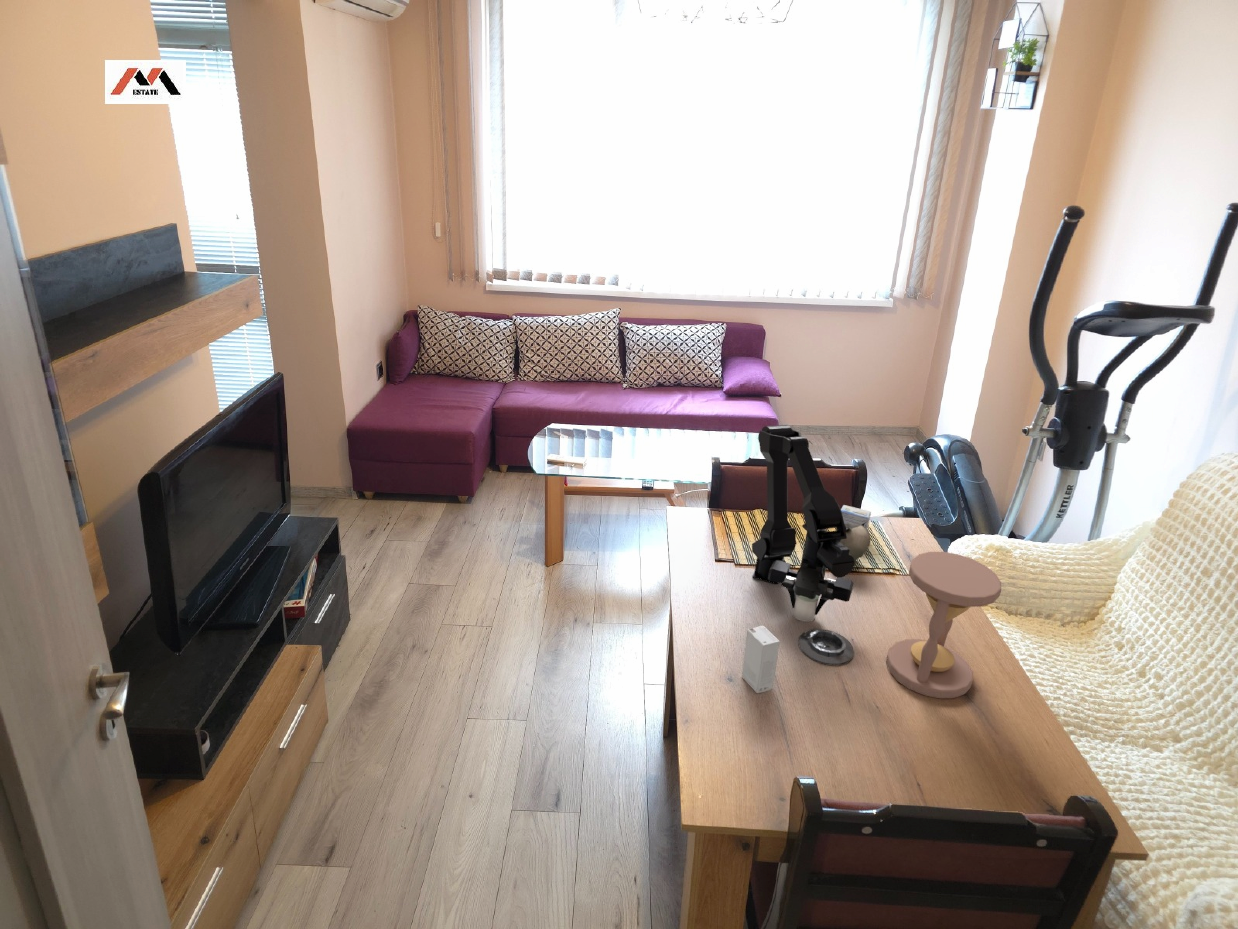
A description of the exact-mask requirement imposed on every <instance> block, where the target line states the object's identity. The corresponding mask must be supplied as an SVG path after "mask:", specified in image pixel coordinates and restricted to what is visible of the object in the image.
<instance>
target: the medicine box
mask: <svg viewBox="0 0 1238 929" xmlns="http://www.w3.org/2000/svg"><path fill="white" fill-rule="evenodd" d="M840 509H841V511H842V515H843V520H844V523H845V524H846V523H851V524H863V523H865V524H864V527H865V528H866V529H867V530H868V528H869V523H870V518H871V515H872V511H870V510H866V509H863V508H858V507H854V506H849V505H845V504H843V505H842V507H841V508H840Z"/></svg>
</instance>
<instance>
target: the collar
mask: <svg viewBox="0 0 1238 929" xmlns="http://www.w3.org/2000/svg"><path fill="white" fill-rule="evenodd" d="M798 648H799V649H800V651H801V652H802V653H803V654H804V655H805V656H806V657H808V658H809V659H811V660H812V661H814V662H816V663H819V664H823V665H828V666H840V665H844V664H847V663H849V662H850V661H851V660H852V659H853V657H854V653H855V648H854V646H853V644H852V643H851V641H850V640H849V639H847V638H846V637H845V636H843V635H841V634H840V633H838V632H835V631H832V630H828V629H822V628H815V629H809V630H807V631H804V632H803V633H801V635H800V636H799V638H798Z"/></svg>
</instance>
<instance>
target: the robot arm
mask: <svg viewBox="0 0 1238 929" xmlns="http://www.w3.org/2000/svg"><path fill="white" fill-rule="evenodd" d="M757 439H758V443H759V450H760V453H761V455H762V456H763V458H764V459H765V461H766V495H767V496H766V508H767V509H766V510H767V511H766V515H767V516H766V520H765V522H764V524H763V526H762V527H761V529H760V537H759V539H758V540H756V541H754V542H753V543H752V544H751V552H752V553H753V554H754V556H755V557H756V562H755V565H754V566H755V568H754V571H753V574H752V576H751V577H752V578H753V579H757V580H760V581H764V582H767V583H771V584H774V585H778V584H781V587H784V588H785V589H786V590H787V591H788V594H789V599H790V604H791V608H792V609H794V606H795V601H796V596H797V595H798V596H804V597H807V598H809V599H814V598H815V597H816V595H818V596H819V599H818V603H817V608H816V611H815V616H818V614H819V612H820V611H821V609H822V607H823V606H824V605H825V604H826V602H827V601H834V600H839V601H842V602H850V599H851V596H852V593H853V590H854V585H855V582H854V581H853V579H850V578H847V577H846V576H848V575H849V574H851V572H852V571H853V570H854V568H855V566H856V565H855V562H854V558H853V557H852V556H851V555H850V554H849V552H850V550H849V548H847V547H846V546H844V545H843V544H842V543H841V542H840V541H841V540H842V539H847V536H846V527H845V523H844V520H843V515H842V511H841V508H840V505H839V503H838V502H837V500H836V498H835V496H834V495H832V494H830V493H829V491H827V490H826V489H825V486H824V484H823V480H822V478H821V477H820V474H819V471H818V468H817V466H816V464H815V463H816V462H815V460H814V458H813V456H812V454H811V451H810V449H809V447H810V444H809V440H808V438H807V437H805V436H803V435H802V432H801V431H798V430H795V429H793V428H792V427H791V426H790V425H789V424H780V425H778V424H777V425H767V426H763V427H762V428H761V430H760V431H759V433H758V437H757ZM788 461H789V462H790V465H791V468H792V469H793V473H794V475H795V477H796V481H797V483H798V485H799V489H800V491H801V494H802V497H803V504H802V508H801V510H802V514H803V518H804V524H802V526H801V527H802V528H803V529H804V530H805V531H806V535H805V541H804V546H803V549H802V550H803V551H802V556H801V560H800V566H799V568H798V570H793V569H791V566H792V564H791V563H790V562H786V560H785V558H790V557H792V554H793V553H794V551H795V549H796V547H797V538H796V537H797V529H796V528H795V527H793V526H792V525H791V524H790V522H789V520H788V512H789V510H788V509H789V508H788V506H789V504H788V502H789V501H788V497H789V496H788V493H789V492H788ZM834 528H835V530H831V529H834ZM829 529H830V531H828V530H829ZM836 529H837V531H836ZM854 565H855V566H854ZM827 570H828V572H830V573H831V575H833V576H834V577H835V578H836V579H832V578H825V577H826V571H827ZM845 577H846V578H845Z"/></svg>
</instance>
